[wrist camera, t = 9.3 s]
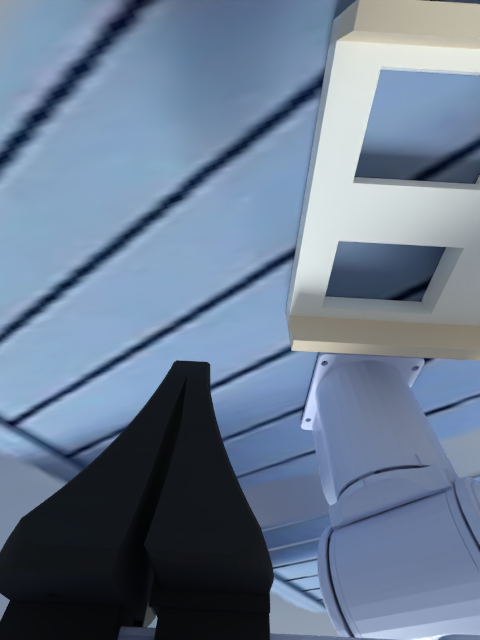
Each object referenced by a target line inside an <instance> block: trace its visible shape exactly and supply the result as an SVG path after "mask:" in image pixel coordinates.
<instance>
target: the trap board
mask: <svg viewBox="0 0 480 640" xmlns="http://www.w3.org/2000/svg"><path fill="white" fill-rule="evenodd" d="M381 69H382V70H398V71H415V72H431V73H448V74H464V75H480V4H471V3H455V2H439V1H423V0H356V1H355V2H353V3H352V4H351V5H350V6H349V7H348V8H347V9H345V10H344V11H343V12H342V13H341V14H340V15H339V16H338V17H336V18H335V19H334V20H333V24H332V30H331V37H330V43H329V49H328V55H327V61H326V67H325V73H324V80H323V86H322V92H321V98H320V104H319V110H318V116H317V122H316V129H315V135H314V141H313V147H312V153H311V159H310V165H309V172H308V178H307V184H306V190H305V196H304V202H303V208H302V214H301V221H300V227H299V233H298V239H297V245H296V251H295V257H294V264H293V270H292V276H291V282H290V288H289V294H288V300H287V306H286V319H287V325H288V331H289V338H290V344H291V350H292V351H310V352H329V353H347V354H366V355H384V356H403V357H421V358H440V359H458V360H477V361H480V175H479V177H478V179H477V181H476V184H466V183H449V182H432V181H414V180H397V179H380V178H363V177H354V176H355V172H356V168H357V164H358V160H359V155H360V151H361V147H362V143H363V139H364V135H365V131H366V127H367V123H368V119H369V115H370V110H371V106H372V102H373V98H374V94H375V90H376V86H377V82H378V78H379V74H380V70H381ZM338 241H350V242H368V243H385V244H403V245H421V246H438V247H446V248H445V251H444V253H443V255H442V257H441V259H440V261H439V264H438V266H437V268H436V270H435V272H434V274H433V277H432V279H431V281H430V283H429V285H428V287H427V290H426V292H425V294H424V296H423V298H422V300H421V302H417V301H399V300H381V299H363V298H345V297H327V296H325V294H326V290H327V286H328V282H329V278H330V274H331V270H332V266H333V262H334V258H335V254H336V249H337V245H338Z"/></svg>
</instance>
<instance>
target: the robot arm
mask: <svg viewBox="0 0 480 640" xmlns="http://www.w3.org/2000/svg"><path fill="white" fill-rule="evenodd" d="M323 361H326V362H323ZM424 362H425V361H424V359H423V358H421V357H403V356H384V355H366V354H347V353H329V352H321V353H319V355H318V359H317V363H316V367H315V371H314V374H313V378H312V382H311V386H310V389H309V393H308V397H307V401H306V405H305V408H304V412H303V416H302V420H301V428H302V429H304V430H312V433H313V439H314V444H315V450H316V455H317V461H318V466H319V472H320V477H321V482H322V488H323V492H324V495H325V497H326V499H327V502H328V503H329V505H330V506H329V507H328V510H329V516H330V521H331V525H330V526H328V527H327V528H326V529H325V530H324V531H323V533H322V535H321V538H320V541H319V546H318V578H319V584H320V589H321V593H322V597H323V601H324V604H325V607H326V610H327V612H328V615H329V617H330V619H331V621H332V624H333V625H334V627H335V629H336V631H337V633H338V634H339V636H340V637H333V636H312V635H290V634H270V625H269V613H270V589H271V587H272V584H273V580H274V575H273V568H272V563H271V559H270V556H269V552H268V549H267V546H266V543H265V540H264V537H263V534H262V530H261V527H260V525H259V523H258V521H257V520H256V518H255V516H254V514H253V512H252V510H251V508H250V506H249V504H248V502H247V500H246V498H245V496H244V493H243V491H242V489H241V487H240V485H239V482H238V480H237V478H236V475H235V473H234V470H233V468H232V466H231V463H230V461H229V458H228V455H227V453H226V450H225V447H224V444H223V441H222V438H221V435H220V431H219V428H218V424H217V421H216V417H215V413H214V408H213V403H212V398H211V392H210V364H209V363H208V362H196V361H175V362H174V363H173V365H172V367H171V369H170V370H169V372H168V374H167V375H166V377H165V378H164V380H163V381H162V383H161V384H160V386H159V387H158V389H157V390H156V391H155V393H154V394H153V395H152V397H151V398H150V399H149V401H148V402H147V403H146V405H145V406H144V407H143V408H142V410H141V411H140V412H139V413H138V415H137V416H136V417H135V418H134V419H133V421H132V422H131V423H130V424H129V425H128V426H127V427H126V429H125V430H124V431H123V432H122V433H121V434H120V435H119V436H118V437H117V438H116V439H115V440H114V441H113V442H112V443H111V444H110V445H109V446H108V447H107V448H106V449H105V450H104V451H103V452H102V453H101V454H100V455H99V456H98V457H97V458H96V459H95V460H94V461H93V462H92V463H90V464H89V465H88V466H87V467H86V468H85V469H84V470H82V471H81V472H80V473H79V474H78V475H76V476H75V477H74V478H73V479H72V480H71V481H69V482H68V483H67V484H66V485H65V486H63V487H62V488H61V489H60V490H58V491H57V492H56V493H55V494H53V495H52V496H51V497H49V498H48V499H47V500H45V501H44V502H43V503H41V504H40V505H39V506H37V507H36V508H35V509H33V510H32V511H31V512H29V513H28V514H27V515H25V516H24V517H22V518H21V520H20V521H19V523H18V524H17V526H16V527H15V529H14V530H13V532H12V533H11V535H10V536H9V538H8V539H7V541H6V543H5V544H4V546H3V548H2V550H1V552H0V593H1V594H2V595H4V596H5V597H6V598H8V599H9V600H10V602H9V604H8V606H7V608H6V611H5V612H4V615H3V617H2V619H1V621H0V640H480V482H478V481H476V480H475V479H473V478H471V477H463V478H460V479H459V477H458V475H457V473H456V472H455V470H454V468H453V466H452V464H451V462H450V461H449V459H448V457H447V455H446V453H445V451H444V450H443V448H442V446H441V444H440V442H439V440H438V438H437V437H436V435H435V433H434V431H433V429H432V427H431V426H430V424H429V422H428V420H427V418H426V416H425V414H424V413H423V411H422V409H421V407H420V405H419V403H418V402H417V400H416V398H415V396H414V394H413V392H412V391H411V387H412V385H413V383H414V381H415V380H416V378H417V376H418V374H419V372H420V370H421V368H422V367H423V365H424ZM414 366H415V367H414ZM156 615H157V617H158V620H157V625H156V628H147V627H148V626H149V625H150V624H151V622H152V621H153V620H154V619H155V616H156Z"/></svg>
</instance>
